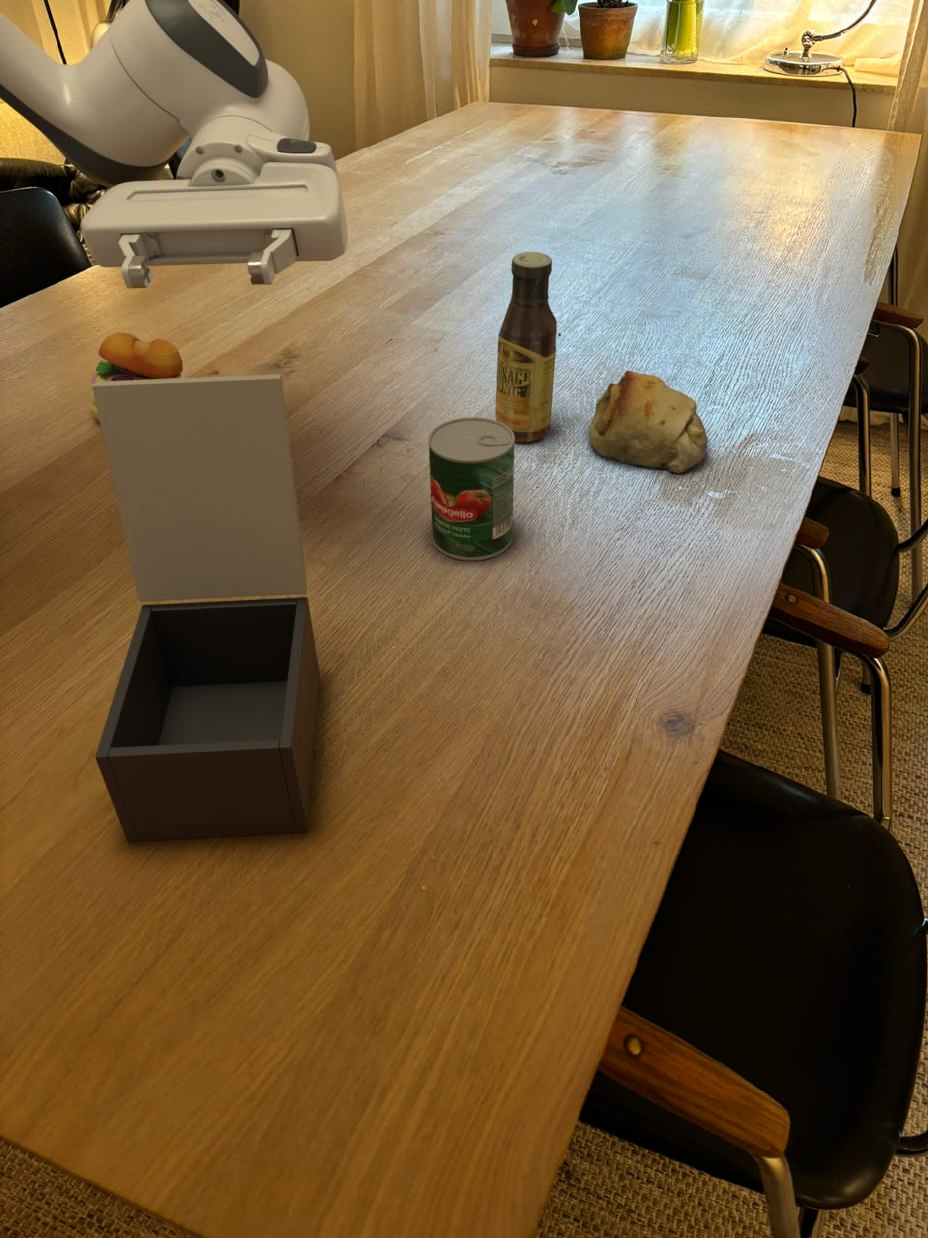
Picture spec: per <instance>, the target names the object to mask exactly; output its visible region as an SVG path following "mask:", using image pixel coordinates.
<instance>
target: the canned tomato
mask: <svg viewBox="0 0 928 1238" xmlns="http://www.w3.org/2000/svg"><path fill="white" fill-rule="evenodd" d="M515 443H516V441H515V435H514V433H513V431H512V430H511V429H510V428H509V427H508V426H506V425H505V424H503V423H501V422H499V421H496V419H492V418H486V417H479V416H472V417H471V416H467V417H458V418H454V419H450V420H447V421H445V422H442V423H441V424H439V425H436V427H435V428H433V429H432V430H431V432H430V433H429V435H428V438H427V445H428V460H429V482H430V483H429V484H430V505H431V508H430V510H431V511H430V512H431V528H432V529H431V530H432V533H431V540H432V543H433V545H434V547H435V548H436V550H437V551H439V552H440V553H441V554H443V555H445V556H446V557H449V558H451V559H455V560H458V561H466V562H477V561H484V560H485V561H486V560H488V559H492V558H495V557H496V556H499V555H501V554H503V553H504V552H505V551H507V550H508V548H509V547H510V546H511V544H512V543H513V539H514V533H513V526H514V524H513V523H514V489H515V484H514V481H515V477H514V476H515Z"/></svg>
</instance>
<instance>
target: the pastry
mask: <svg viewBox="0 0 928 1238" xmlns="http://www.w3.org/2000/svg"><path fill="white" fill-rule="evenodd" d="M697 410H698V409H697V402H696V400H695V399H694V398H692V397H690V396H689V395H686V394H685V393H684V392H682V391H679V390H676V389H674V388H671V387H670V386H668V385H667V384H666V382H664V380H663V378H661V377H659V376H656V375H654V374H646V373H640V372H635V371H632V370H629V369H628V370H626V371H625V373H624V375H623V376H621V378H620V380H619V381H618V382H617V383H616V384H615V383H609V384H608V385H607V388H606V390H604V392H603V393H602V396H600V397H599V398H598V400H597V402H596V404H595V411H594V414H593V418H592V419H591V423H590V426H589V430H588V437H589V441H590V444H591V445H592V447H593V448H594V449H595V451H596V452H597V453H598V454H600V455H601V456H602V457H605V458H609V459H610V460H613V461H617V462H619V463H622V464H628V465H634V466H641V467H645V468H650V469H661V470H662V469H667V471H668V472H669V473H676V474H682V473H685V472H687V470H690V469H691V468H692V467H694V466H696V465H697V464H699V463H700V462H701V461H702V460H703V458H704V456H705V454H706V453H707V448H708V435H707V431H706V428H705V426H704V424H703V421H702V419H701V418H700V416H699V414H698V413H697Z"/></svg>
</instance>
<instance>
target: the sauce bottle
mask: <svg viewBox="0 0 928 1238" xmlns="http://www.w3.org/2000/svg"><path fill="white" fill-rule="evenodd" d="M552 269H553V260H552V257H550V256H549V255H548V254H545V253H543V252H539V251H523V252H519V253H517V254H515V255H514V256H512V259H511V269H510V271H511V274H512V287H511V289H512V290H511V295H510V296H511V298H510V301H509V304H508V306H507V309H506V312H505V315H504V318H503V320H502V324H501V327H500V329H499V332H498V337H497V359H496V360H497V362H496V387H495V388H496V389H495V409H494V410H495V411H494V416H495V420H496V421H499V422H501V423H503V424H505V425H506V426H508V427H509V428H510V429H511V430H512V431H513V433H514V435H515V443H518V444H519V443H520V444H527V443H530V442H535V441H539V440H540V439H542V438H544V437H545V436H546V435H547V434H548V432H549V430H550V423H551V420H552V410H553V409H552V408H553V407H552V406H553V395H554V381H555V380H554V379H555V370H556V355H557V345H556V344H557V343H556V342H557V334H558V331H557V330H558V322H557V321H558V320H557V319H556V316H555V315H554V312H553V310H552V309H551V306H550V304H549V299H550V296H549V284H550V276H551V275H552Z"/></svg>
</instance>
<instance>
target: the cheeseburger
mask: <svg viewBox="0 0 928 1238" xmlns="http://www.w3.org/2000/svg"><path fill="white" fill-rule="evenodd" d="M98 356H99V357H100V358H102V359H103V360H100V361H99V363H97V366H96V367H95V371H96V373H95V374H93V375H92V377H91V386H92V385H93V384H94V383H95V382H103V381H127V380H151V379H175V378H182V376H183V374H182V373H183V370H184V365H183V358H182V356H181V354H180V352H179V349H178V347H176V346H175V345H174V344H172V343H171V342H169V341H168V340H165V339H161V338H155V339H153V340H152V341H144V340H140V338H137V336H135V335H133V334H132V333H128V332H121V331H119V332H118V331H117V332H113V333H112V334H109V335H107V337H105V339H104V340H103V341H102V342H101V344H100V347H99V349H98ZM89 390H90V391H89V397H90V400H91V405H90V410H91V413H92V415H93V417H95V419H97V420H98V421H99V416H98V412H97V407H96V402H95V398H94V393H93V389H92V387H91V388H90V389H89Z"/></svg>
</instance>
